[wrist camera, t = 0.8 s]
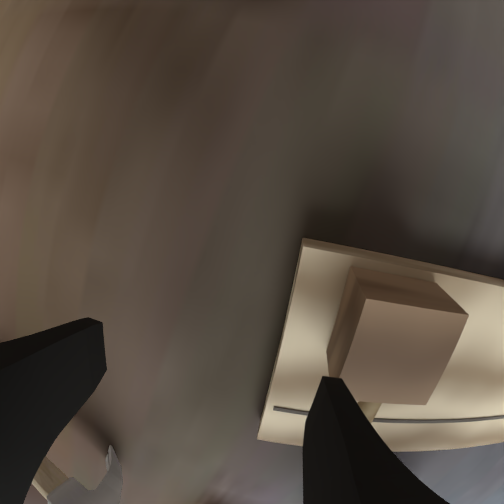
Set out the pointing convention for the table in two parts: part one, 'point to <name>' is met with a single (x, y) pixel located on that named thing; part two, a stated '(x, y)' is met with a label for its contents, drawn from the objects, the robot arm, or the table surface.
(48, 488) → the hammer
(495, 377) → the board
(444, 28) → the table surface
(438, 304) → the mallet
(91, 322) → the robot arm
